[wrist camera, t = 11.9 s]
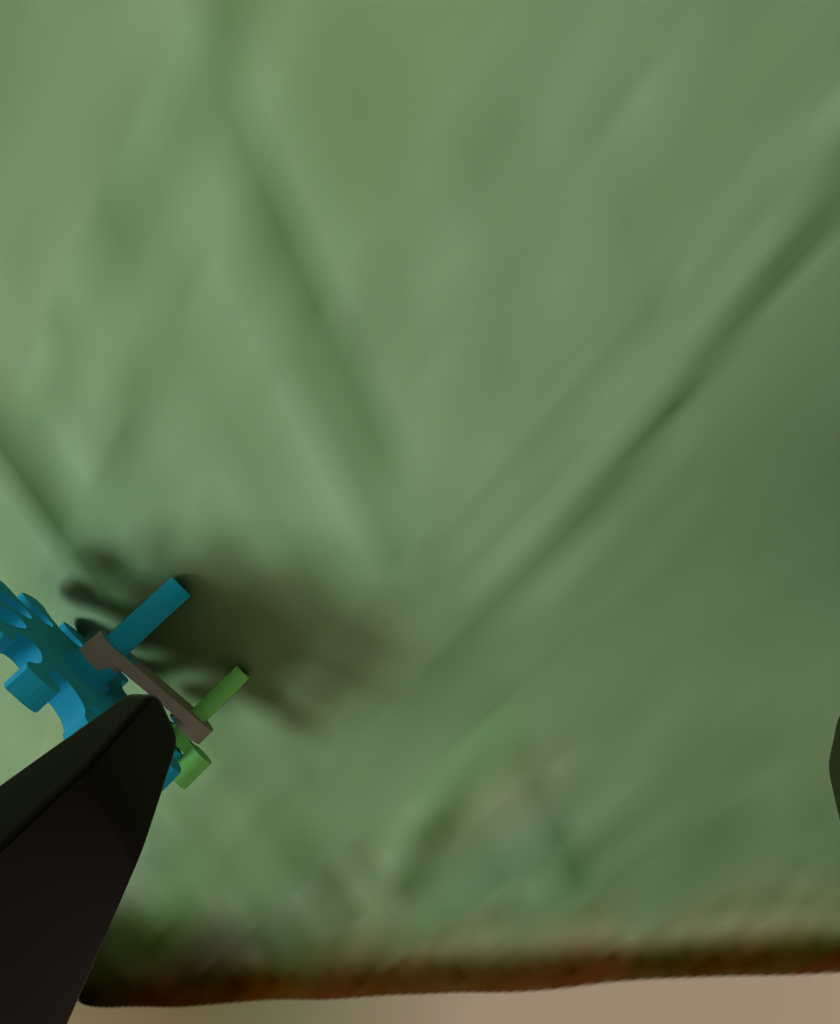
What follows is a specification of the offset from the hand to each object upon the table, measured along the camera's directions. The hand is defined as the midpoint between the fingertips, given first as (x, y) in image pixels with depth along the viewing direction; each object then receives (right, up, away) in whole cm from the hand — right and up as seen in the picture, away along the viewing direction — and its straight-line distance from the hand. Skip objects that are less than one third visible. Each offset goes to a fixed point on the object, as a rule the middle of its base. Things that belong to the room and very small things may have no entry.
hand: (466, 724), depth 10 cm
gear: (-12, -2, +20) cm, 23 cm away
